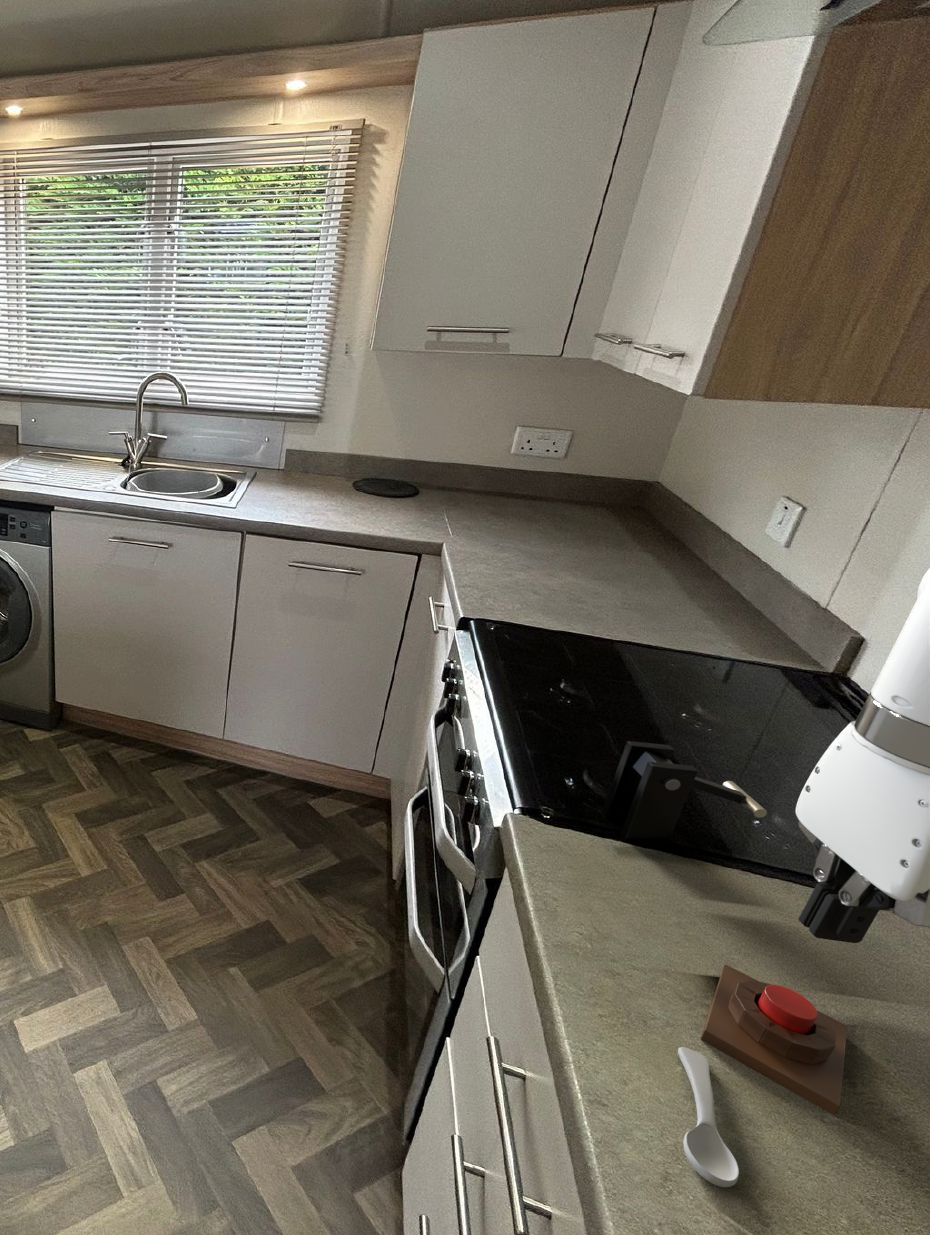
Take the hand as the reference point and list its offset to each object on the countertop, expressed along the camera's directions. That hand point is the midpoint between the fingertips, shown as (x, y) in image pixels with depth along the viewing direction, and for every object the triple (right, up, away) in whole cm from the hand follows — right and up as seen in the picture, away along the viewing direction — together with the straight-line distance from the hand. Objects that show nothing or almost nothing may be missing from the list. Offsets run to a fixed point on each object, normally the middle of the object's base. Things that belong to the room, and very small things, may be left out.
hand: (827, 932), depth 56 cm
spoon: (-12, -14, -2) cm, 18 cm away
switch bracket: (+6, -3, +27) cm, 28 cm away
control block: (0, -11, +4) cm, 12 cm away
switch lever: (+10, +4, +24) cm, 26 cm away
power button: (0, -9, +3) cm, 10 cm away
